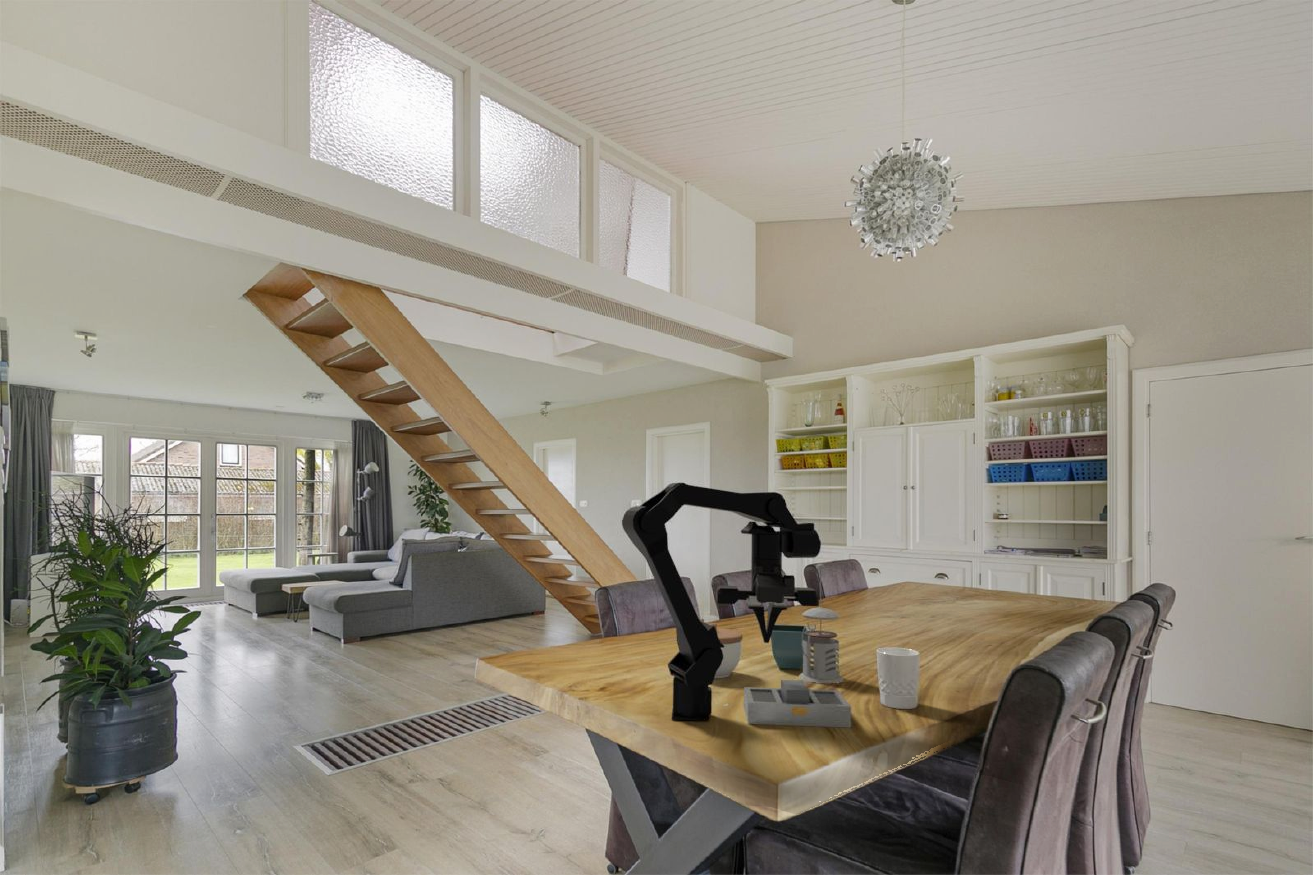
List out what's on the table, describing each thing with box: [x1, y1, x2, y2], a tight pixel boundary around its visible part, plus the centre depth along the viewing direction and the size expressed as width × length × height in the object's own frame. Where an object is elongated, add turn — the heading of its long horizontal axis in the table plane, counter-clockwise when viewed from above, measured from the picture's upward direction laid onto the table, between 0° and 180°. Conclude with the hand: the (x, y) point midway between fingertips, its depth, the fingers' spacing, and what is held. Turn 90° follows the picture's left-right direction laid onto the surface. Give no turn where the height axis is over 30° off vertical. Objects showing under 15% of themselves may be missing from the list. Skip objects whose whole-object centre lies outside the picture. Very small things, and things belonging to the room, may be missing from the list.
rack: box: [743, 686, 852, 728], centre depth 124 cm, size 18×11×4 cm, turn 87°
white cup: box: [876, 646, 920, 710], centre depth 134 cm, size 8×8×10 cm
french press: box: [798, 563, 845, 685], centre depth 153 cm, size 10×12×25 cm
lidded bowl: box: [710, 623, 743, 679], centre depth 155 cm, size 13×13×11 cm
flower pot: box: [770, 624, 809, 670], centre depth 163 cm, size 9×9×9 cm
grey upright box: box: [780, 679, 810, 703], centre depth 124 cm, size 4×7×4 cm, turn 178°
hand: (766, 642), depth 130 cm, fingers closed
